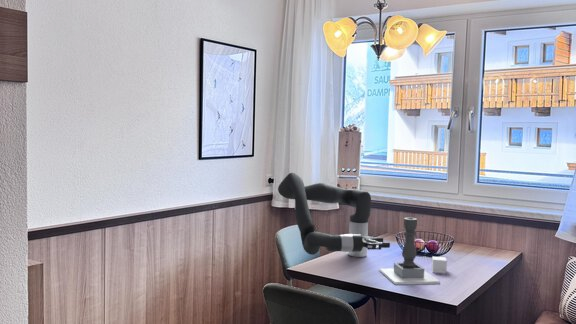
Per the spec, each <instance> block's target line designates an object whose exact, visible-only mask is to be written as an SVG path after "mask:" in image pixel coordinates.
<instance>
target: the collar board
mask: <svg viewBox="0 0 576 324" xmlns="http://www.w3.org/2000/svg"><path fill="white" fill-rule="evenodd" d="M402 263H403V262H394V263H393V267H391V268H379V269H378V271H379V272H380V273H382V275H384V277H385V278H386V279H388V280H389V281H390V282H391V283H392V284H394V285H396V286H397V285H436V284H439V285H440V284H441V281H440V280H439V279H437V277H434V276H433V275H431V274H430V273H429V272H428V271H426V270H425V268H424V267H422V266H421V265H419V264H418V263H417V262H414V263H415V266H414V267H415V268H409V269H404V268H402V266H403V265H402Z"/></svg>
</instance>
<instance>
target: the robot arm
mask: <svg viewBox="0 0 576 324" xmlns="http://www.w3.org/2000/svg"><path fill="white" fill-rule="evenodd" d="M277 191H278V193H279V195H280V196H282V197H283V198H285V199H289V200H294V216H295V217H294V218H295V222H296V225H297V227H298V230H299V234H300V239H301V244H302V248H303V250H304V252H305V253H307V254H309V255H312V256H313V255H316V254H318V252H319V251H320V248H321V247H323V248H326V250H327V251H328V252H343V253H345V252H346V253H348V255H349V256H351V257H355V258H364V257H367V256H368V250H369V251H370V250H378V251H379V250H382V249H385V248H387V249H389V248H390V247H391V243H390V242H386V241H385V242H384V238H383V237H374V236H372V235H370V236H369V234H368V233H369V232H368V231H369V220H370V216H371V210H372V207H371V206H372V197H371V194H370V192H369V191H366V190H361V189H357V188H355V189H353V188H351V189H350V188H341V187H339V186H337V185H333V184H331V183H325V182H319V183H318V182H317V183H315V184H310V185H306V186H305V183H304V180H303V178H302V177H301V176H300V175H299V174H297V173H296V172H289V173H288V174H287V175H286V176H285V177H284V178H283V179H282V181H281V182H280V183H279V185H278V187H277ZM308 201H314V202H318V203H319V202H320V203H323V204H344V205H347V206H349V207H353V208H355V213H354V214H353V213H352V214H351V215H350V216H349V229H348V232H349V233H344V234H329V233H326V232H325V233H324V232H320V231H316V230H315V229H316V227H315V226H316V225H315V222H314V219H313V217H312V214H311V211H310V209H309V205H308V204H309V203H308Z"/></svg>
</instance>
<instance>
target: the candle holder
mask: <svg viewBox="0 0 576 324" xmlns="http://www.w3.org/2000/svg"><path fill="white" fill-rule="evenodd" d="M403 227H404V229H405V230H404V231H403V234H404V235H405V236H404V237H405V240H404V246H403V248H402V251H401V254H402V257H403V262H401V263H402V265H403V266H402V268H404V269H409V268H415V267H414V266H415V263H416V262H414V261H415V259H416V257H417V250H416V245H415V236H416V235H417V231H416V229H417V227H418V218H416V217H404V218H403Z"/></svg>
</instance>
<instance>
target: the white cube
mask: <svg viewBox="0 0 576 324" xmlns="http://www.w3.org/2000/svg"><path fill="white" fill-rule="evenodd" d="M431 262H432V263H431V271H432V273H434V274H437V273H438V274H447V270H448V269H447V266H448V265H447V262H448V260H447V257H443V256H442V257H441V256H433V255H432V257H431Z"/></svg>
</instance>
